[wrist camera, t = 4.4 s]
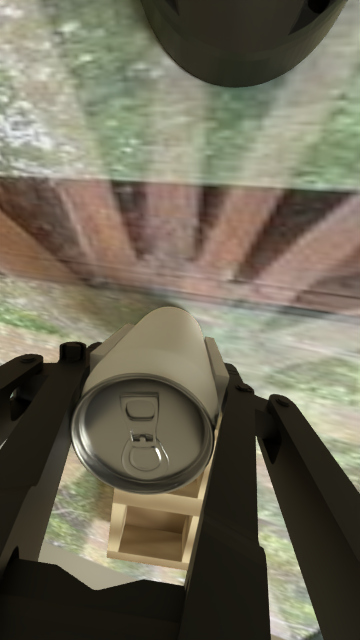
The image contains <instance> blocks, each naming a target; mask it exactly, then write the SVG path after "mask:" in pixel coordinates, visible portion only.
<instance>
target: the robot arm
mask: <svg viewBox="0 0 360 640" xmlns="http://www.w3.org/2000/svg"><path fill="white" fill-rule="evenodd" d="M141 1H142V4H143V7H144V10H145V13H146V15H147V18H148V20H149V23H150V25H151V27H152V29H153V31H154V32H155V34H156V36H157V38H158V39H159V41H160V42H161V44H162V45H163V47H164V48H165V49H166V51H167V52H168V53H169V54H170V55H171V56H172V58H173V59H174V60H175V61H176V62H177V63H178V64H179V65H181V66H182V67H183V68H184V69H186V70H187V71H188V72H190V73H191V74H193V75H194V76H196V77H198V78H200V79H202V80H204V81H206V82H209V83H212V84H215V85H220V86H225V87H248V86H254V85H258V84H262V83H265V82H268V81H270V80H272V79H275V78H277V77H279V76H281V75H282V74H284V73H286V72H287V71H289V70H291V69H292V68H293V67H295V66H296V65H297V64H299V63H300V62H301V61H302V60H303V59H305V58H306V57H307V56H308V55H309V54H310V53H311V52H312V51H313V50H314V49H315V48H316V46H317V45H318V44H319V43H320V42H321V41H322V39H323V38H324V37H325V36H326V34H327V33H328V31H329V30H330V29H331V27H332V25H333V24H334V22H335V21H336V19H337V18H338V16H339V14H340V12H341V11H342V9H343V7H344V6H345V4H346V2H347V0H141ZM134 326H135V325H134V324H128V323H126V324H125V325H124V326H123V327H122V328H120V329H119V330H118V331H117V332H115V333H114V334H113V335H112V336H111V337H109V338H108V339H107V340H106V341H105V342H103V343H102V342H96V343H93V344H91V345H90V346H88V347H87V348H86V344H84V343H82V342H66V343H63V344H61V345H60V358H59V361H58V362H57V363H43V356H41V355H37V354H25V355H22V356H18V357H16V358H14V359H12V360H10V361H9V362H7V363H5V364H3V365H1V366H0V446H1V445H2V443H3V442H4V441H5V440H6V439H7V438H8V439H7V440H6V442H5V443H4V445H3V446H2V448H1V449H0V640H271V634H270V616H269V597H268V579H267V564H266V555H265V552H264V548H262V547H261V546H259V541H258V514H257V475H256V437H255V436H257V440H258V443H259V446H260V449H261V452H262V455H263V458H264V461H265V464H266V467H267V470H268V473H269V476H270V479H271V482H272V485H273V488H274V491H275V494H276V497H277V500H278V503H279V506H280V509H281V512H282V515H283V518H284V521H285V524H286V527H287V530H288V533H289V536H290V539H291V542H292V545H293V548H294V551H295V554H296V557H297V560H298V564H299V567H300V570H301V573H302V576H303V579H304V582H305V585H306V588H307V591H308V594H309V597H310V600H311V603H312V606H313V609H314V612H315V615H316V618H317V621H318V624H319V627H320V630H321V633H322V636H323V639H324V640H360V494H359V492H358V491H357V489H356V488H355V487H354V485H353V484H352V482H351V481H350V480H349V478H348V477H347V475H346V474H345V473H344V471H343V470H342V469H341V467H340V466H339V464H338V463H337V462H336V460H335V459H334V457H333V456H332V455H331V453H330V452H329V450H328V449H327V448H326V446H325V445H324V444H323V442H322V441H321V439H320V438H319V437H318V435H317V434H316V432H315V431H314V430H313V428H312V427H311V425H310V424H309V423H308V421H307V420H306V419H305V417H304V416H303V414H302V413H301V412H300V410H299V409H298V407H297V406H296V405H295V404H294V403H293V402H292V401H291V400H290V399H288V398H287V397H285V396H282V395H278V394H272V395H270V397H269V400H266V399H264V398H261V397H258V396H256V395H254V390H253V389H252V388H251V387H250V386H249V385H247V384H245V383H243V381H242V379H241V377H240V376H239V373H238V371H237V369H236V368H235V367H234V366H233V365H232V364H228V363H224V362H223V360H222V357H221V355H220V352H219V350H218V347H217V345H216V342H215V340H214V338H211V337H205V340H204V342H205V346H206V350H207V354H208V358H209V362H210V366H211V370H212V375H213V379H214V383H215V387H216V392H217V398H218V407H219V416H220V412H221V411H222V419H221V423H220V427H219V431H218V436H217V441H216V445H215V450H214V454H213V459H212V463H211V468H210V472H209V476H208V481H207V485H206V490H205V494H204V499H203V503H202V508H201V512H200V517H199V521H198V526H197V530H196V534H195V539H194V543H193V548H192V552H191V557H190V561H189V566H188V570H187V575H186V579H185V583H184V586H181V585H175V584H169V583H163V582H157V581H151V580H145V579H143V580H139V581H135V582H130V583H127V584H122V585H118V586H114V587H110V588H106V589H102V590H93V589H91V588H90V587H88V586H87V585H85V584H84V583H82V582H81V581H79V580H78V579H77V578H75V577H74V576H72V575H71V574H69V573H68V572H66V571H65V570H64V569H62V568H61V567H59V566H58V565H54V564H48V563H42V562H38V558H39V553H40V550H41V546H42V542H43V539H44V535H45V532H46V528H47V525H48V522H49V518H50V515H51V511H52V508H53V504H54V501H55V497H56V494H57V490H58V487H59V483H60V480H61V476H62V473H63V469H64V466H65V462H66V459H67V455H68V452H69V448H70V445H71V438H70V421H71V416H72V413H73V410H74V408H75V406H76V404H77V402H78V401H79V399H80V398H81V395H82V391H83V388H84V385H85V382H86V380H87V378H88V377H89V375H90V373H91V372H92V371H93V369H94V368H95V367H96V366H97V364H98V363H99V362H100V361H101V360H102V359H103V358H104V357H105V356H106V355H107V354H108V353H109V352H110V351H111V350H112V349H113V348H114V347H115V346H116V345H117V343H118V342H119V341H120V340H121V339H122V338H123V337H124V336H125V335H126V334H127V333H128V332H129V331H130V330H131V329H132V328H133V327H134ZM12 392H13V396H12V397H11V398H10V396H11V394H12ZM219 416H218V418H219Z"/></svg>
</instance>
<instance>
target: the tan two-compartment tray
mask: <svg viewBox="0 0 360 640" xmlns="http://www.w3.org/2000/svg"><path fill="white" fill-rule="evenodd" d="M221 419H222V411H221V412H220V416H219V418H218V422H217V426H216V429H215V432H214V433H215V445H216V441H217V436H218V431H219V427H220V423H221ZM215 445H214V450H215ZM213 454H214V451H213ZM213 454H212V457H211V460H210V462H209V464H208V465H207V467H206V468H205V470H204V471H203V472H202V473H201V474H200V475H199V476H198V477H197V478H196V479H195V480H194V481H192V482H191V483H189V484H188V485H186V486H184V487H182V488H180V489H178V490H175V491H172V492H168V493H164V494H157V495H140V494H133V493H128V492H124V491H121V490H118V489H115V488H114V496H113V505H112V514H111V523H110V532H109V541H108V550H107V558H113V559H119V560H125V561H131V562H138V563H144V564H150V565H156V566H163V567H169V568H175V569H181V570H188V566H189V561H190V557H191V552H192V548H193V543H194V539H195V534H196V530H197V526H198V521H199V517H200V512H201V508H202V503H203V499H204V494H205V490H206V485H207V481H208V476H209V472H210V468H211V463H212V459H213Z"/></svg>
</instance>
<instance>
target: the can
mask: <svg viewBox="0 0 360 640" xmlns="http://www.w3.org/2000/svg"><path fill="white" fill-rule="evenodd" d="M218 416H219V407H218V398H217V392H216V387H215V383H214V379H213V375H212V370H211V366H210V362H209V358H208V354H207V350H206V346H205V342H204V338H203V334H202V331H201V328H200V326H199V324H198V322H197V321H196V320H195V318H194V317H193V316H192V315H191V314H189V313H188V312H186V311H184V310H182V309H180V308H176V307H161V308H158V309H155V310H153V311H151V312H150V313H148V314H147V315H146V316H145V317H144V318H143V319H142V320H140V321H139V322H138V323H137V324H136V325H135V326H134V327H133V328H132V329H131V330H130V331H129V332H128V333H127V334H126V335H125V336H124V337H123V338H122V339H121V340H120V341H119V342H118V343H117V345H116V346H115V347H114V348H113V349H112V350H111V351H110V352H109V353H108V354H107V355H106V356H105V357H104V358H103V359H102V360H101V361H100V362H99V363H98V364H97V366H96V367H95V368H94V369H93V371H92V372H91V373H90V375H89V377H88V378H87V380H86V382H85V385H84V388H83V391H82V395H81V398H80V399H79V401H78V402H77V404H76V406H75V408H74V410H73V413H72V416H71V421H70V438H71V442H72V446H73V449H74V451H75V453H76V455H77V457H78V459H79V460H80V462H81V463H82V464H83V466H84V467H85V468H86V469H87V470H88V471H89V472H90V473H91V474H92V475H93V476H95V477H96V478H97V479H99V480H100V481H102V482H103V483H105V484H107V485H109V486H111V487H113V488H115V489H118V490H121V491H124V492H128V493H133V494H140V495H157V494H164V493H168V492H172V491H175V490H178V489H180V488H182V487H184V486H186V485H188V484H189V483H191V482H192V481H194V480H195V479H196V478H197V477H198V476H199V475H200V474H201V473H202V472H203V471H204V470H205V468H206V467H207V465H208V464H209V462H210V460H211V457H212V454H213V451H214V445H215V433H214V432H215V429H216V426H217V422H218Z"/></svg>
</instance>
